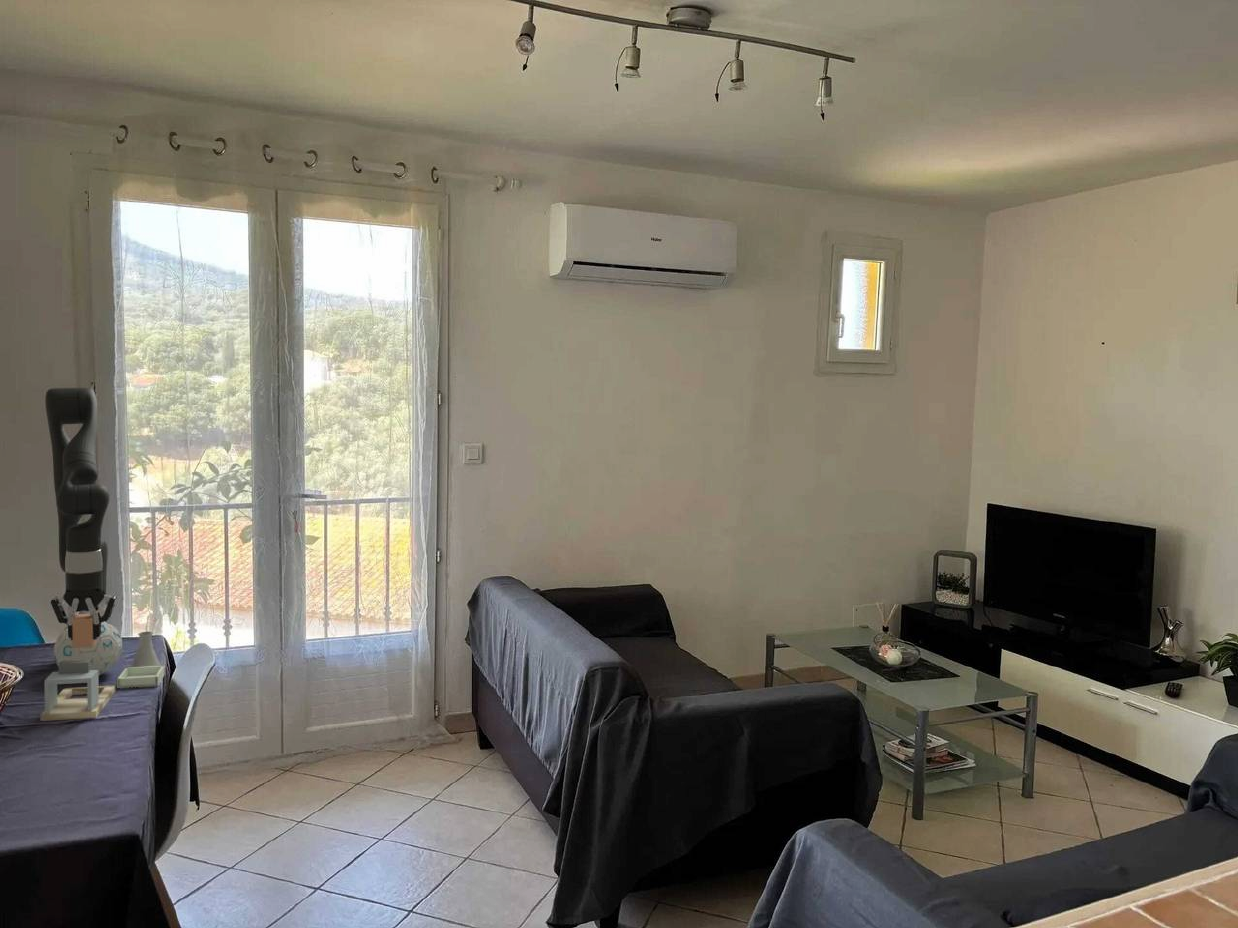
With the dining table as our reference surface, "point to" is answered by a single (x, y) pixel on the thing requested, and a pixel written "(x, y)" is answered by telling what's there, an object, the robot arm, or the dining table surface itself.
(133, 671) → the pale sage tray
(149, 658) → the flask
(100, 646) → the puzzle ball
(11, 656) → the dining table surface
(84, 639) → the terracotta block
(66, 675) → the sliding cover
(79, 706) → the puzzle board
